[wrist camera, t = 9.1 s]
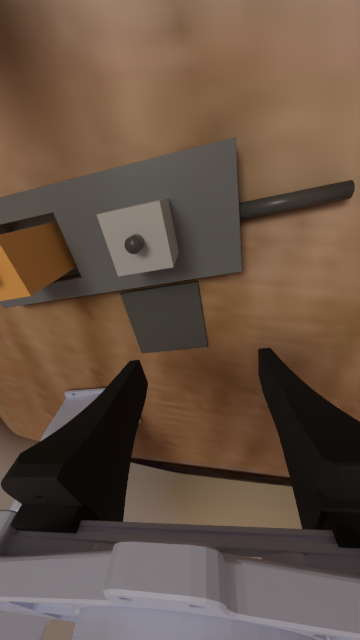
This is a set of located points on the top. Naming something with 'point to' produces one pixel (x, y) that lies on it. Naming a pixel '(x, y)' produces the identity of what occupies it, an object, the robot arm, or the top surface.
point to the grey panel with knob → (150, 220)
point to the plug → (32, 260)
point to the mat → (166, 317)
